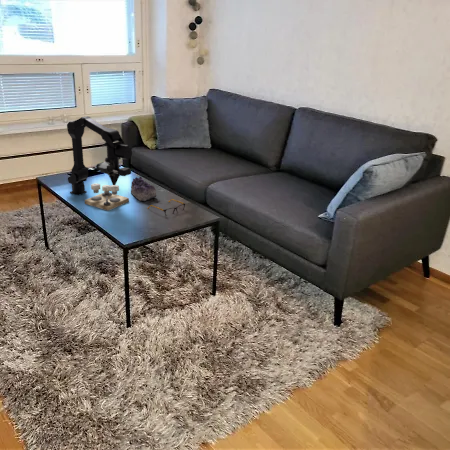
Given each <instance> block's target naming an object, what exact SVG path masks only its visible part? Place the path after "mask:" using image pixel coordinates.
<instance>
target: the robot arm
mask: <svg viewBox="0 0 450 450" xmlns="http://www.w3.org/2000/svg"><path fill="white" fill-rule="evenodd" d="M66 128H67V133H68V135H69V137H70V138H71V144H72V145H71V146H72V155H73V157H72V158H73V166H72V168H71V170H70V171H71V175H70V176H69V177H68V178H67V182H68V183H69V184H71V191H69V193H70V194H72V195H77V196H80V195H83V194H86V193H87V190H86V188H85V187H86V186H85V182H87V179H88V178H89V177H88V176H89V168H88V167H86V165H85V164H84V153H83V152H84V151H83V150H84V149H83V139H82V138H83V136H84V133H85V128H88V129H90V130H91V131H93V132H95V133H96V134H98V135H99V136H100V137H101V139H102V140H103V141H104V142H105V143H103V144H102V146H103V147H106V157H104V158H105V159H104V161H102V162H99V163H97V164H96V166H95V167H96V168H95V169H96V170H97V171H100V173H103V174H106V175H107V176H108V177H109V179H110V182H111V184H112V185H117V183H118V179H119V178H120V177H121V176H122V177H126V176H129V175H131V174H132V169H131V168H130V167H122V165H121V164H120V160H122V159H123V160H130V159H131V158H132V156H133V151H132V149H131V148H130V146H129V145H128V144H125V141H124V139H123V138H122V136H121V134H120V132H119V131H118V129H114V128H111V127H106V126H105V125H103V124H101V123H99V121H96V120H94V119H92V118H91V116H88V115H86V116H82V117H80V118H79V119H75V120H72V121H68V123H66Z"/></svg>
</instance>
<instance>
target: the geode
mask: <svg viewBox="0 0 450 450" xmlns="http://www.w3.org/2000/svg"><path fill="white" fill-rule="evenodd" d="M130 188H131V189H130V194H132V195H133V196H134V197H135V198H136V199H137V200H139V201H140V202H141V201H142V202H146V201H149V200H151V199H155V198H156V197H157V188H156V187H155V186H154V185H152V184H150V183H148V182H147V181H145V179H143V177H142V176H139V177H138V176H137V177H135V178H132V181H131V186H130Z"/></svg>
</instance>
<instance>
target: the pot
mask: <svg viewBox="0 0 450 450" xmlns="http://www.w3.org/2000/svg"><path fill="white" fill-rule="evenodd" d="M104 205H106V206H108V205H111V203H110V202H108V197H106V202H104Z"/></svg>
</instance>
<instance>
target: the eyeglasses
mask: <svg viewBox="0 0 450 450" xmlns="http://www.w3.org/2000/svg"><path fill="white" fill-rule="evenodd" d="M171 201H174V202H177V203H180V205H178V206H175V207H170V208H166V209H163V208H160V207H158V206H156V205H149V206H148V207H147V209H150V207H154V208H156V209H158V210H160V211H162V212H164V215H165V216H168V214H166V211H167V210H168V211H169V210H171V209H173V210H172V215H173V214H175V211H176V212H178V208H179V207H181V206H183V207H182V211H184V210H185V207H186V203H184V202H182V201H180V200H176V199H173V198H172V199H170V200H168V202H169V203H170V202H171ZM168 202H167V203H168Z"/></svg>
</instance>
